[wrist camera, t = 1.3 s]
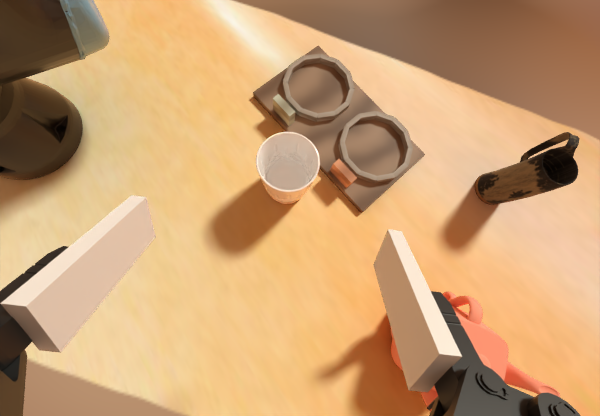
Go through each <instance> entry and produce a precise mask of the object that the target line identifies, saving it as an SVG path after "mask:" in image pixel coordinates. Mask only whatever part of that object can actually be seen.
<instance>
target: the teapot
mask: <svg viewBox="0 0 600 416" xmlns="http://www.w3.org/2000/svg"><path fill="white" fill-rule="evenodd" d="M442 295H443V296H444V297H445V298H446V299H447V300H448V301H449V302H450V303H451V305H452V307H453V309H454V311H455V313H456V316H458V318H459V320H460V322H461V326H463V328H464V329H465V331H466V333H467V335H468V337H469V339H470V341H471V342H472V344H473V346H474V348H475V350H476V352H477V354H478V355H479V357H480V359H481V361H482V362H483V364H484V365H485V366H487V367H489V368H491V369H492V370H493V371H495V372H496V373H497V374H498V375H499V376H500V377H501V378H502V379H503V381H504V382H505V383H506V384H509V385H513V386H517V387H520V388H523V389H526V390H529V391H532V392H534V393H537V394H540V393H547V392H548V393H551V394H554V395H556V396H558V397H560V394H559V392H558V391H557V390H556V389H554V388H552V387H551V386H549V385H547V384H544V383H542V382H540V381H538V380H536V379H534V378H532V377H530V376H529V375H527V374H525V373H524V372H522V371H521V370H519V369H518V368H516V367H515V366H514V365H512V364H511V363H510V362H508V345H507V343H506V342H505V341H504V340H503V339H502V338H501V337H500V336H499V335H498V334H496V333H495V332H494V331H493V330H492V329H490V328H489V327H487V326H486V325H485V324H483V323H482V322H481V321H482V316H483V312H482V307H481V305H480V303H479V302H478V301H477V300H476V299H474V298H472V297H469V296H459V297H456V296H455V295H454V294H453V293H451V292H444V293H443V294H442ZM465 304H469V306H470V311H469V314H468V313H466V312H464V311H462V310H460V309H458V308H456V307H459V306H462V305H465ZM391 336H392V338H393V339H392V346H391V354H392V358H393V360H394V362H395V364H396V365H397V366H398V367H399V368H400V369H401V370H403V369H402V365H401V362H400V358H399V355H398V351H397V347H396V344H395V340H394V337H393V333H392V329H391ZM421 395H422V398H423V400H424V402H425V404H426V406H427V407H428V406H429V404H430V403H431V402H432V401H433V400H434V399H436V398H437V397H438V394H437V391H436V388H435V386H433V387H432V389H431V390H430V391H429V392H421ZM431 410H432V409H431ZM431 410H430V412H431Z"/></svg>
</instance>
